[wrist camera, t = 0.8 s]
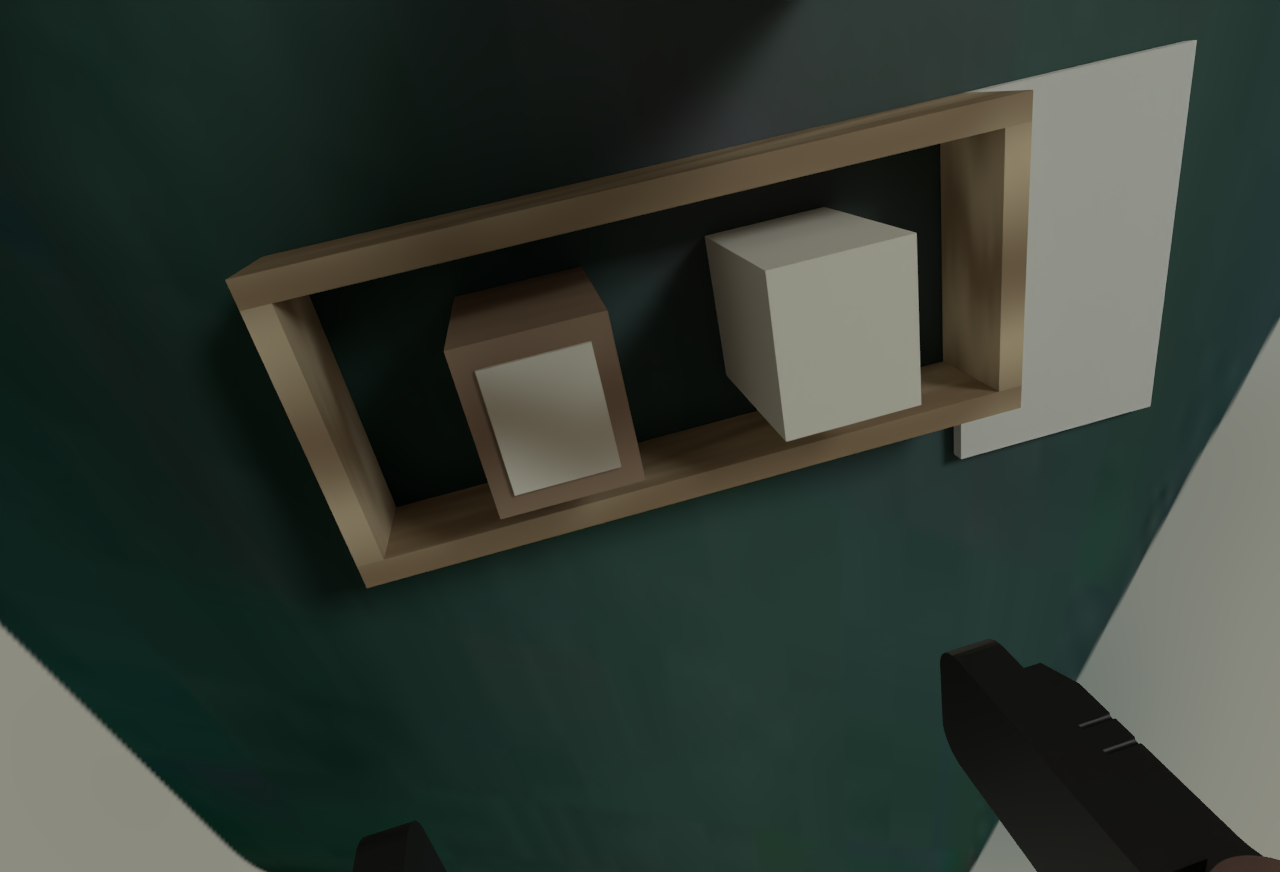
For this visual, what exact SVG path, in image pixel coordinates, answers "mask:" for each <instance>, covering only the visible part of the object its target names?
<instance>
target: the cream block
mask: <svg viewBox="0 0 1280 872" xmlns="http://www.w3.org/2000/svg"><path fill="white" fill-rule="evenodd" d="M705 242H706V249H707V255H708V262H709V268H710V274H711V281H712V287H713V294H714V300H715V306H716V313H717V319H718V325H719V332H720V338H721V345H722V351H723V357H724V364H725V370H726V376H727V377H728V378H729V379H730V380H731V381H732V382H733V383H734V384H735V386H736V387H737V388H738V389H739V390H740V391H741V392H742V393H743V394H744V396H745V397H746V398H747V399H748V400H749V401H750V402H751V403H752V404H753V406H754V407H755V408H756V409H757V410H758V411H759V412H760V413H761V414H762V416H763V417H764V418H765V419H766V420H767V421H768V422H769V423H770V424H771V426H772V427H773V428H774V429H775V430H776V431H777V432H778V433H779V434H780V436H781V437H782V438H783V439H784V440H785V441H786V442H787V441H791V440H795V439H798V438H802V437H806V436H809V435H813V434H817V433H820V432H824V431H828V430H831V429H835V428H839V427H842V426H846V425H850V424H853V423H857V422H861V421H864V420H868V419H872V418H875V417H879V416H883V415H886V414H890V413H894V412H897V411H901V410H905V409H908V408H912V407H916V406H919V405H921V371H920V335H919V299H918V262H917V233H915V232H912V231H908V230H905V229H901V228H897V227H894V226H890V225H887V224H883V223H880V222H876V221H873V220H869V219H866V218H862V217H858V216H855V215H851V214H848V213H844V212H841V211H837V210H834V209H830V208H827V207H821V208H817V209H813V210H809V211H805V212H800V213H796V214H792V215H788V216H784V217H780V218H776V219H772V220H768V221H764V222H759V223H755V224H751V225H747V226H743V227H739V228H735V229H731V230H727V231H723V232H719V233H714V234H710V235H706V236H705Z"/></svg>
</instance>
